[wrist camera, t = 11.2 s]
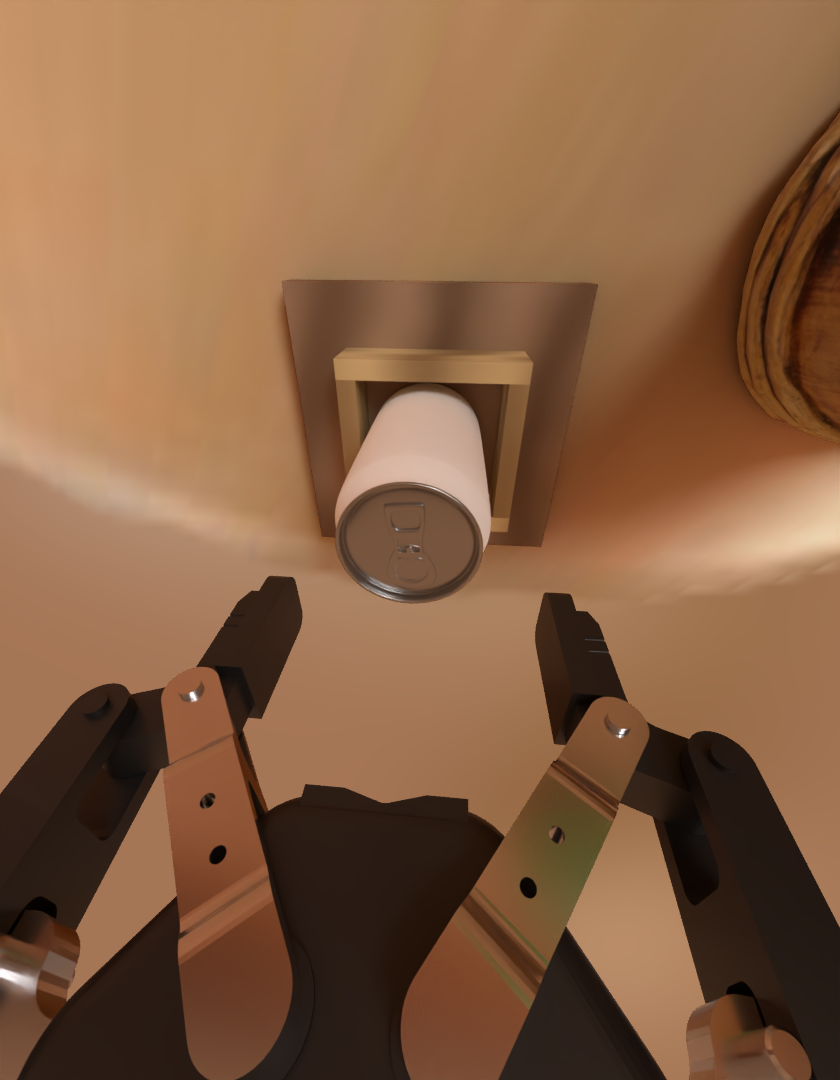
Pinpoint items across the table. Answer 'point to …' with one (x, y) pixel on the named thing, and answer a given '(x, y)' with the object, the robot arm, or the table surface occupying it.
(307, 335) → the socket stand
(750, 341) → the tankard
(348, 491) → the can
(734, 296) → the table surface
